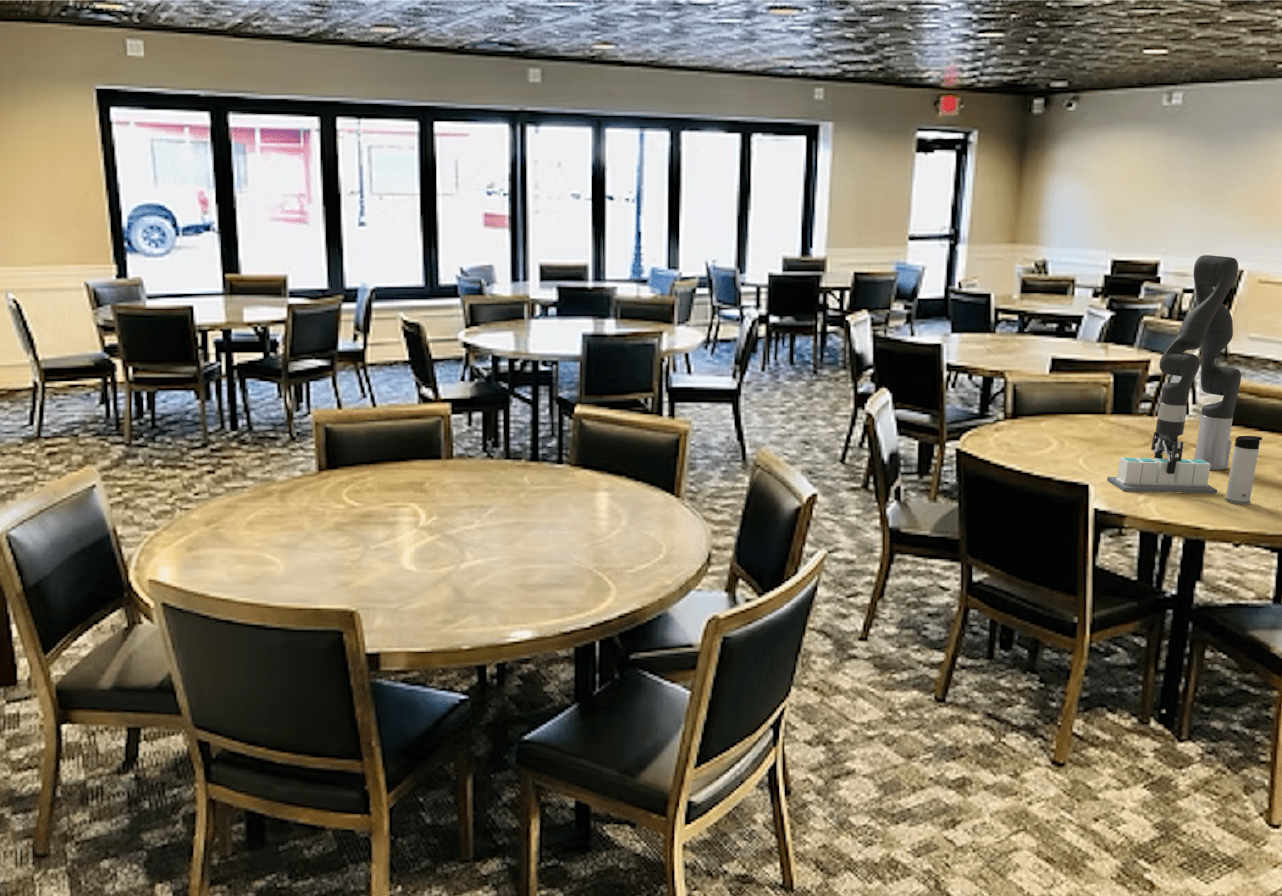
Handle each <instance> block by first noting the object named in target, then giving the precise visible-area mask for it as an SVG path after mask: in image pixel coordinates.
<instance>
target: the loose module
mask: <svg viewBox="0 0 1282 896" xmlns="http://www.w3.org/2000/svg"><path fill="white" fill-rule="evenodd" d="M1152 460H1154V461H1156V462H1158V469H1157V476H1156V482H1157V483H1158V484H1173V482H1174V476H1175V473H1174V474H1168V473H1166V471H1167V464H1168V458H1154V457H1153V458H1152ZM1175 469H1176V468H1175Z"/></svg>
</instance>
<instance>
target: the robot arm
mask: <svg viewBox="0 0 1282 896" xmlns="http://www.w3.org/2000/svg"><path fill="white" fill-rule="evenodd" d="M1193 267H1194V268H1193V284H1194V287H1195V288H1194V289H1195V294H1196V298H1197V306H1195V308H1193V309H1192V310H1191V311H1189V313H1188V314H1187V315H1185V318H1184V320H1183V321H1182V324H1181V326H1180V329H1179V331H1178V334H1177V335H1176V337H1175V339H1174V340H1173V341H1172V342H1171V344H1170V345H1169V347H1168V348H1167V349H1166V350H1165V351H1164V353H1163V354H1162V355H1161V358H1160V360H1159V370H1160V371H1161V372H1162V373H1163V374H1164V375H1168V376H1176V377H1181V379H1180V380H1179V381H1178V382H1167V383H1165V384H1164V385H1163V387H1162V391H1161V392H1162V393H1161V398H1160V403H1159V408H1158V412H1157V419H1156V426H1155V431H1154V432H1153V435H1152V442H1151V448H1150V450H1151V451H1153V454H1154V457H1153V458H1163V456H1164V455H1163V454H1164V453H1165V456H1167V459H1168V464H1167V471H1166V473H1168V474H1174V473H1175V468H1176V462H1181V459H1183V457H1182V456H1183V450H1184V441H1179V440H1178V439H1179V438H1178V437H1179V436H1182V435H1184V430H1185V423H1186V419H1187V418H1186V417H1187V404H1188V397H1189V393H1190V389H1191V387H1192V385H1193V382H1194V379H1195V378H1196V376H1197V374H1198V372H1199V369H1200V387H1201V390H1202V391H1203V392H1204V393H1205V394H1209V395H1213V396H1214V395H1216V396H1221V397H1222V396H1223V398H1222V400H1221V401H1218V402H1215V403H1208V404H1205V405H1203V406H1202V407H1201V413H1200V417H1199V418H1200V419H1199V426H1198V432H1197V436H1196V438H1197V439H1196V444H1195V449H1194V450H1195V451H1194V456H1193V459H1201V460H1203V461H1205V462H1207V463H1209V464H1211V465H1210V470H1212V471H1213V470H1214V471H1221V470H1227V469H1228V467H1229V459H1230V454H1231V449H1232V442H1233V441H1232V440H1231V439H1230V436H1231V431H1232V424H1233V419H1234V415H1235V414H1234V413H1235V409H1236V405H1237V399H1238V395H1239V390H1240V386H1241V382H1242V373H1241V370H1240V369H1238V368H1232V367H1227V366H1220V365H1219V366H1218V365H1217V364H1216V359H1217V358H1218V356H1219V355H1220V354H1221V353H1222V352H1223V351H1224V350H1225V348H1226V347H1227V346H1229V344H1230V342H1231V341H1232V338H1233V337H1234V336H1233V335H1234V328H1233V327H1234V326H1233V324H1234V323H1233V318H1232V314H1231V313H1230V311H1229V309H1228V308H1227V306H1225V304H1224V300H1225V299H1226V297H1227V295H1228V294H1229V292H1230V291H1231V288H1232V287H1233V286H1234V284H1235V281H1236V279H1237V276H1238V271H1239V262H1238V260H1237V259H1236V258H1235V257H1231V256H1223V255H1211V254H1205V255H1201V256H1198V258H1196V261H1195V262H1194V266H1193ZM1199 348H1200V354H1201V355H1200V357H1201V361H1200V359H1199V357H1198V356H1197V354H1194V353H1186V352H1187V351H1193V350H1194V351H1195V350H1197V349H1199ZM1163 459H1164V458H1163Z"/></svg>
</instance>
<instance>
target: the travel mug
mask: <svg viewBox="0 0 1282 896" xmlns="http://www.w3.org/2000/svg"><path fill="white" fill-rule="evenodd" d="M1262 440H1263V437H1262V436H1257V435H1255V436H1254V435H1238V436H1237V437H1236V438H1235V441H1234V447H1233V450H1232V457H1231V463H1230V469H1229V474H1228V479H1227V480H1228V481H1227V486H1226V487H1227V488H1226V493H1225V499H1224V500H1225V501H1226V502H1228V503H1230V504H1233V503H1234V505H1239V504H1240V505H1241V506H1242V505H1244V506H1245V504H1246V505H1249V504H1250V501H1251V495H1252V491H1253V484H1254V477H1255V474H1256V473H1255V472H1256V466H1257V462H1258V455H1259V450H1260V443H1261V442H1260V441H1262Z"/></svg>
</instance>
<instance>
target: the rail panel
mask: <svg viewBox="0 0 1282 896" xmlns="http://www.w3.org/2000/svg"><path fill="white" fill-rule="evenodd" d="M1210 465H1211V464H1209V463H1207V462H1205V461H1203V460H1201V459H1194V458H1192V459H1191V458H1189V459H1188V458H1182V459H1181V462H1176V469H1175V476H1174V482H1173V484H1158V483H1157V482H1156V476H1157V469H1158V462H1156V461H1154V460H1153V458H1150V457H1119V461H1118V469H1117V475H1116V476H1107V478H1106V481H1107V482H1108V483H1110V484H1112V485H1113V486H1115V487H1116V488H1118V489H1119V490H1121V491H1122V492H1134V493H1167V492H1181V493H1180V494H1213V495H1214V494H1215V495H1217V494H1218V489H1216V488H1214V487H1213V486H1211V485H1209V484H1208V482H1209V476H1210V470H1211V469H1210Z"/></svg>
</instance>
